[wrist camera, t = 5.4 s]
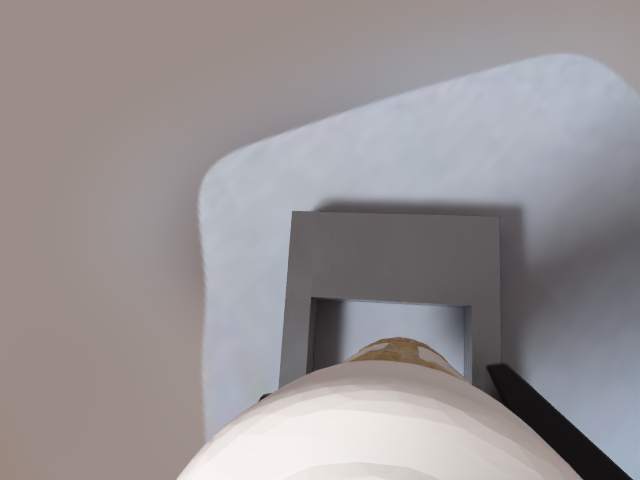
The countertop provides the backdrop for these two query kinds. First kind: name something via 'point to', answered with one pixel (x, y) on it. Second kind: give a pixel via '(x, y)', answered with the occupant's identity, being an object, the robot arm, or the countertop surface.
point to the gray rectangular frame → (393, 276)
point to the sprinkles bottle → (379, 427)
